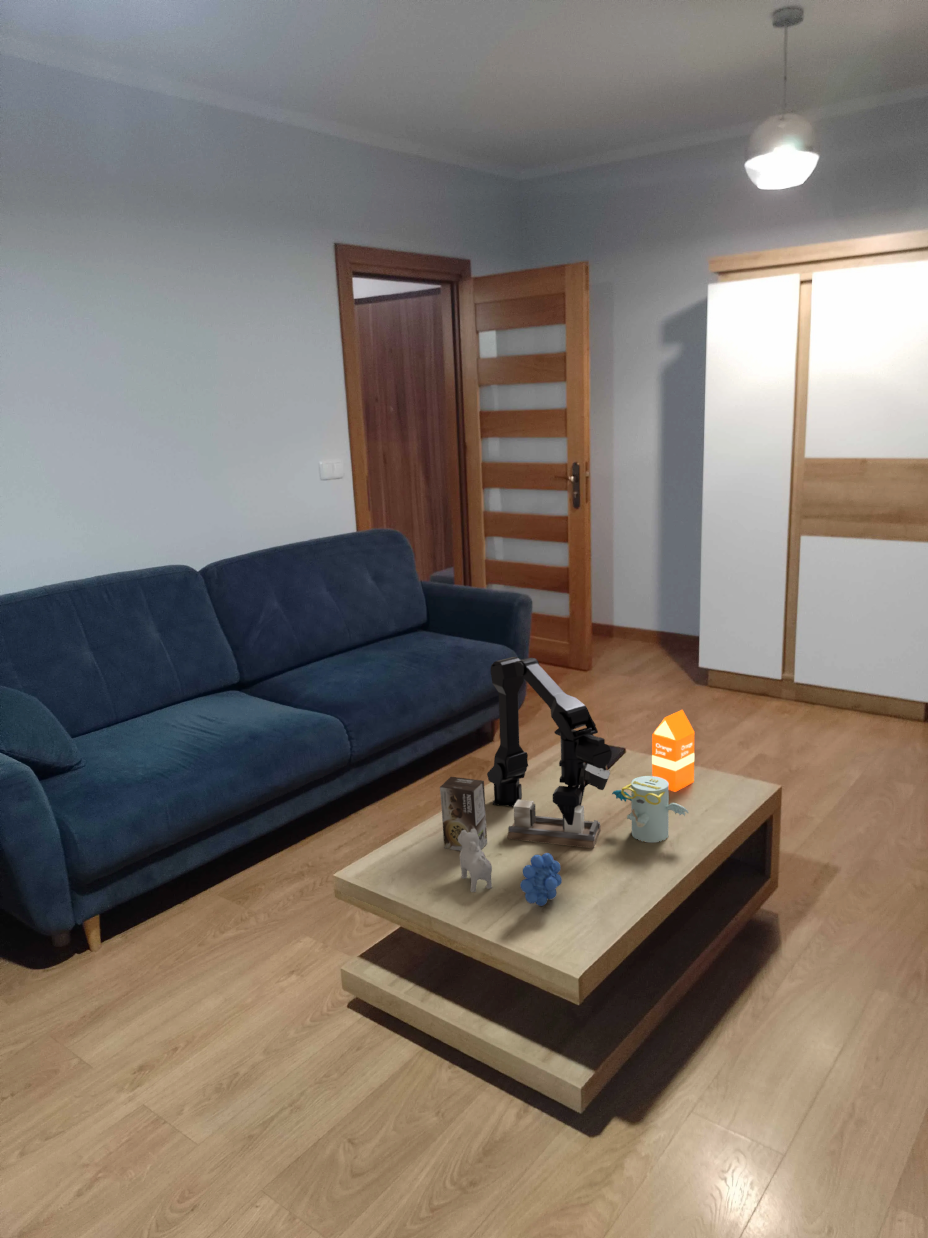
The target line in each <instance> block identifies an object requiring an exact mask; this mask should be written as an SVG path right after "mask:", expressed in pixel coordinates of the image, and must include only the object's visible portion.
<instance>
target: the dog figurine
mask: <svg viewBox="0 0 928 1238" xmlns="http://www.w3.org/2000/svg"><path fill="white" fill-rule="evenodd" d="M458 842H459V843H460V844H461V845H462V850H461V851H459V852H460V853H459V863H460V864H459V865H460V871H461V876H460V877H461V879H467V878H468V872H469V877H470V882H471V883H470V893H475V892H477V885H478V881H479V880H482V881H485V882H486V886H485V887H484V888H485V889H488V890H489V889H492V888H493V884H492V872H493V866H492V863H491V862H490V860H489V859H488V858H486V854H485V852H484V851H483V849H481V848H480V846H479V837H478V835H477V831H476V829H471V831H470V832H468V833H467V832H466V830H462V831H461V834H460V835H459V836H458Z"/></svg>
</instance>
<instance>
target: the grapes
mask: <svg viewBox="0 0 928 1238" xmlns="http://www.w3.org/2000/svg"><path fill="white" fill-rule="evenodd" d="M560 872H561V864H560V863H559V861H558V860H555V859H554V857H553V854H552V853H550V852H544V853H543V854H542V855H540V854H534V855H533V856H531V858H530V864H526V865H525V866H523V867H522V875H523V877H524V879H522V881H520V889H521V892H522V893H523V892H524V893H525V897H524V898H525V900H526V902H527V903H529V904H530V905H531V904H536V905H537V906H539V907H543V906H545V905H546V904H547V902H548V900H553V899H555V898H556V896H557V893H558V892H557V888H558V887H559V886H561V885H562V882H563V881H562V880H563V878H562V876H561V875H560V874H559V873H560Z"/></svg>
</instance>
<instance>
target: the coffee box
mask: <svg viewBox="0 0 928 1238" xmlns="http://www.w3.org/2000/svg"><path fill="white" fill-rule="evenodd" d="M439 791H440V792H439V794H440V805H441V808H440V809H441V817H442V818H441V819H442V832H443V833H442V834H443V835H442V836H443V848H444V849H447V850H454V851H459V852H461V850H462V845H461V844H460V843H459V842H458V836H459V835H460V834H461V831H462V830H466V832H467V833H468V832H470V831H471V829H476V831H477V835H478V837H479V846H480V848H481V850H483V848H484V847H485V846H486V845H487V844H488V834H487V833H488V832H487V831H488V829H487V813H486V796H485V794H486V793H485V780H482V779H481V780H480V779H473V778H472V779H471V778H464V777H457V776H450V777H449V778H448V779H446V781H444V782H443V783H442V784H441V785H440V786H439Z"/></svg>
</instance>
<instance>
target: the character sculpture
mask: <svg viewBox="0 0 928 1238" xmlns="http://www.w3.org/2000/svg"><path fill="white" fill-rule="evenodd" d="M625 790H627V791H628V790H629V791H630V792H631V793H630V794H631V795H630V794H629V793H628V792H626V791H625ZM669 791H670V790H669V784H668V782H667V780H665V779H663V778H660V777H655V776H652V775H644V776H643V775H642V776H637V777H636V778H633V779H632V780H631V782H630V783H629V784H627V785H625V786H624V787H623V786H622V787H621V789H616V790H613V792H612V793H611V795H615V799H616V800H617V799H619V800H620V801H621V802H623V801H624V802H625V803H626V802H627V800H629V801H630V802H631V812H630V813H629V814H627V816H626V819H627V820H630V821H631V835H632V837H633V838H634V839H636V840H637V839H638V841H640V840H641V841H640V842H643V841H645V843H660V842H662V840H663V841H665V840H667V839H668V838H669V811H673V812H674V814H675V815H677V814H679V816H681V815H683V816H684V817H685V816H686V814H689V810H688V809H687V808H686V807H684V806H683V805H682V804H681V805H680V804H679V803H676V802H670V804H669V799H670V797H669ZM666 838H667V839H666ZM659 841H660V842H659Z"/></svg>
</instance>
